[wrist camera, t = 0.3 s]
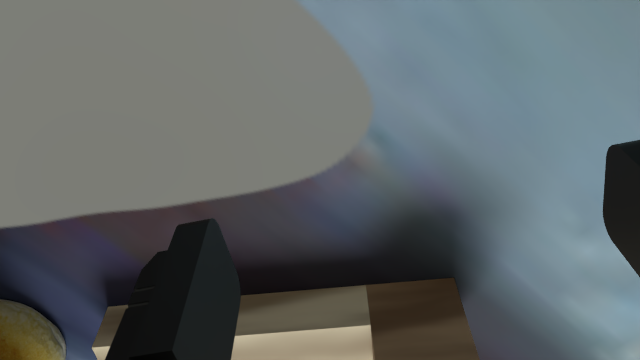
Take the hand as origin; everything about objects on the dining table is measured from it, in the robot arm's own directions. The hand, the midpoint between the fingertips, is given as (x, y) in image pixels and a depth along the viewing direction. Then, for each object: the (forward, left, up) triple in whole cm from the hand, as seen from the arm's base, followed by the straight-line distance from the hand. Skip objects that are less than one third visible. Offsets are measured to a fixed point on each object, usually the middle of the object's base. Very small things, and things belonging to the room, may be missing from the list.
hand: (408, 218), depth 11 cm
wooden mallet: (+22, -6, -18) cm, 29 cm away
